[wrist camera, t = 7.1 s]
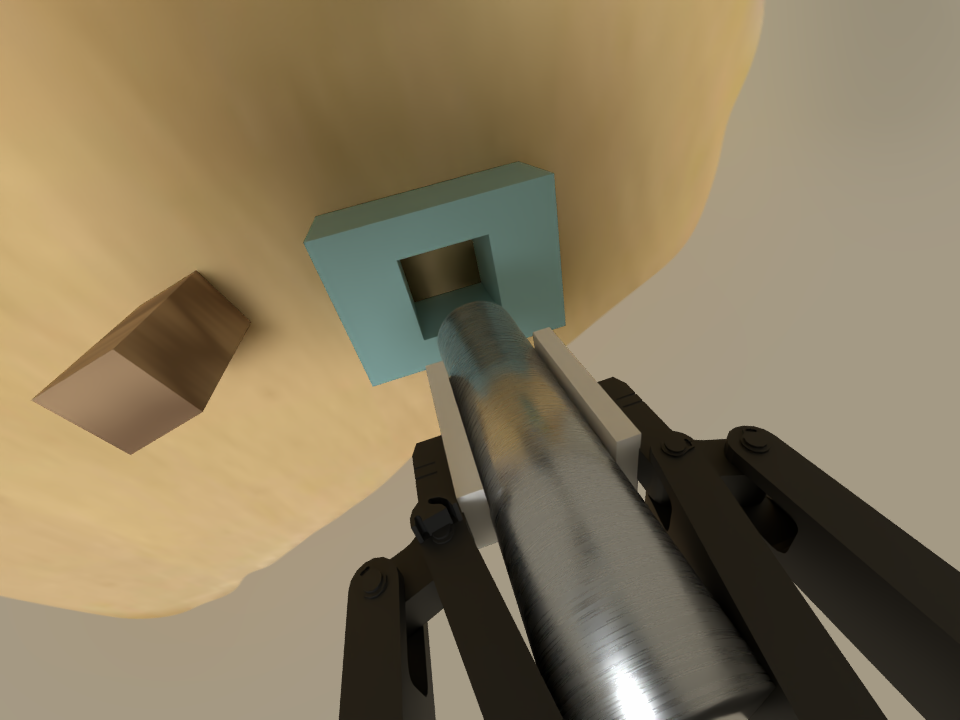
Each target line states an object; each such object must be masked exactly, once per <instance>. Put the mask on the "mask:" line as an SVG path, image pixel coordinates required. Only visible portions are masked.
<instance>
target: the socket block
mask: <svg viewBox="0 0 960 720" xmlns="http://www.w3.org/2000/svg"><path fill="white" fill-rule="evenodd" d="M470 239H472V241H473V246H474V251H475V255H476V260H477V265H478V269H479V274H480V279H481V283H478V284H474V285H471V286H468V287H464V288H461V289H458V290H454V291H451V292H448V293H444V294H441V295H438V296H434V297H431V298H428V299H424V300H421V301H418V302H414V300H413V297H412V294H411V291H410V288H409V285H408V282H407V280H406V277H405V274H404V271H403V268H402V265H401V262H400V260H401V259H404V258H408V257H411V256H415V255H418V254H422V253H425V252H429V251H432V250H436V249H439V248H442V247H446V246H449V245H453V244H456V243H460V242H463V241H467V240H470ZM303 243H304V245H305V247H306V249H307V251H308V253H309V256H310V258H311V260H312V262H313V264H314V266H315V268H316V270H317V272H318V274H319V276H320V278H321V280H322V282H323V284H324V287H325V289H326V291H327V293H328V295H329V297H330V299H331V301H332V303H333V305H334V307H335V309H336V311H337V313H338V315H339V318H340V320H341V322H342V324H343V326H344V328H345V330H346V332H347V334H348V336H349V338H350V340H351V342H352V344H353V346H354V349H355V351H356V353H357V355H358V357H359V359H360V361H361V363H362V365H363V367H364V369H365V371H366V373H367V375H368V377H369V380H370V382H371V384H372V386H376V385H379V384H383V383H386V382H389V381H392V380H395V379H398V378H402V377H405V376H408V375H411V374H414V373H417V372H420V371H424V370H426V367H425V366H427V365H431V364H434V363H437V362H440V361H442V359H441V356H440V352H439V349H438V343H437V338H438V332H439V329H440V326H441V324H442V323H443V321H444V320H445V318H446V317H447V316H448V315H449V314H450V313H451V312H452V311H453V310H455V309H456V308H458V307H459V306H461V305H464V304H466V303H469V302H474V301H488V302H492V303H495V304H498V305H500V306H501V307H503V308H504V309H505V310H506V311H507V312H508V313H509V314H510V316H511V317H512V318H513V320H514V321H515V323H516V324H517V325H518V327H519V328H520V330H521V331H522V332H523V334H524V335H525V337H526V338H528V337H531V336H533V332H535V331H538V330H541V329H544V328H548V327H550V328H551V329H552V330H553V329H556V328H559V327H562V326H566V324H565V311H564V297H563V284H562V271H561V258H560V245H559V232H558V219H557V206H556V193H555V180H554V173H552V172H549V171H546V170H543V169H540V168H537V167H534V166H531V165H528V164H525V163H522V162H519V161H518V162H514V163H511V164H507V165H503V166H500V167H496V168H492V169H489V170H485V171H481V172H478V173H474V174H470V175H467V176H463V177H459V178H456V179H452V180H448V181H444V182H441V183H437V184H433V185H430V186H426V187H422V188H419V189H415V190H411V191H408V192H404V193H400V194H397V195H393V196H389V197H386V198H382V199H378V200H375V201H371V202H367V203H364V204H360V205H356V206H352V207H349V208H345V209H341V210H338V211H334V212H330V213H327V214H323V215H319V216H316V217H315V219H314V221H313V223H312V225H311V227H310V229H309V232H308V234H307V236H306V238H305V240H304V242H303Z"/></svg>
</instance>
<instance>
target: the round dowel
mask: <svg viewBox="0 0 960 720" xmlns="http://www.w3.org/2000/svg"><path fill="white" fill-rule="evenodd" d="M437 343H438V349H439V352H440V356H441V359H442V361H443V362H444V365H445V369H446V372H447V375H448V378H449V381H450V384H451V387H452V391H453V394H454V397H455V400H456V403H457V407H458V410H459V413H460V416H461V419H462V422H463V426H464V429H465V432H466V435H467V438H468V442H469V445H470V448H471V451H472V454H473V458H474V461H475V464H476V467H477V470H478V473H479V477H480V480H481V483H482V486H483V489H484V493H485V496H486V499H487V502H488V505H489V509H490V517H491V520H492V524H493V527H494V530H495V533H496V537H497V540H498V543H499V546H500V549H501V553H502V556H503V559H504V562H505V565H506V569H507V572H508V575H509V578H510V582H511V585H512V588H513V591H514V595H515V598H516V601H517V604H518V608H519V611H520V614H521V617H522V621H523V624H524V627H525V630H526V633H527V637H528V640H529V643H530V646H531V649H532V653H533V656H534V659H535V663H536V666H537V668H538V670H539V672H540V674H541V676H542V678H543V680H544V682H545V684H546V686H547V688H548V690H549V692H550V694H551V696H552V698H553V700H554V702H555V704H556V706H557V708H558V710H559V712H560V714H561V716H562V718H563V720H748V719H749V718H750V717H751V716H752V715H753V713H754V712H755V711H756V710H757V709H758V708H759V706H760V705H761V704H762V703H763V702H764V701H765V699H766V698H767V697H768V696H769V695H770V693H771V692H772V691H773V690H774V689H775V688H776V686H775V685H774V683H773V682H772V680H771V679H770V677H769V675H768V674H767V672H766V671H765V669H764V668H763V666H762V665H761V664H760V662H759V661H758V659H757V658H756V656H755V655H754V653H753V652H752V650H751V649H750V647H749V646H748V645H747V643H746V642H745V640H744V639H743V637H742V636H741V634H740V633H739V632H738V630H737V629H736V628H735V626H734V625H733V623H732V622H731V621H730V619H729V618H728V616H727V615H726V614H725V612H724V611H723V610H722V608H721V607H720V605H719V604H718V603H717V601H716V600H715V598H714V597H713V596H712V594H711V593H710V592H709V590H708V589H707V587H706V586H705V585H704V583H703V582H702V580H701V579H700V578H699V576H698V575H697V574H696V572H695V571H694V569H693V568H692V567H691V565H690V564H689V562H688V561H687V560H686V558H685V557H684V555H683V554H682V553H681V551H680V550H679V549H678V547H677V546H676V544H675V543H674V542H673V540H672V539H671V537H670V536H669V535H668V533H667V532H666V531H665V529H664V528H663V526H662V525H661V524H660V522H659V521H658V519H657V518H656V517H655V515H654V514H653V513H652V511H651V510H650V508H649V507H648V506H647V504H646V503H645V501H644V500H643V499H642V497H641V496H640V495H639V493H638V492H637V490H636V489H635V488H634V486H633V485H632V483H631V482H630V481H629V479H628V478H627V476H626V475H625V474H624V472H623V471H622V470H621V468H620V467H619V465H618V464H617V463H616V461H615V460H614V458H613V457H612V456H611V454H610V453H609V452H608V450H607V449H606V447H605V446H604V445H603V443H602V442H601V440H600V439H599V438H598V436H597V435H596V434H595V432H594V431H593V429H592V428H591V427H590V425H589V424H588V422H587V421H586V420H585V418H584V417H583V416H582V414H581V413H580V411H579V410H578V409H577V407H576V406H575V404H574V403H573V402H572V400H571V399H570V397H569V396H568V395H567V393H566V392H565V391H564V389H563V388H562V386H561V385H560V384H559V382H558V381H557V379H556V378H555V377H554V375H553V374H552V373H551V371H550V370H549V368H548V367H547V366H546V364H545V363H544V361H543V360H542V359H541V357H540V356H539V355H538V353H537V352H536V350H535V349H534V348H533V346H532V345H531V343H530V342H529V341H528V339H527V338H526V337H525V335H524V334H523V332H522V331H521V330H520V328H519V327H518V325H517V324H516V323H515V321H514V320H513V318H512V317H511V316H510V314H509V313H508V312H507V311H506V310H505V309H504V308H503V307H501V306H500V305H498V304H495V303H492V302H488V301H474V302H469V303H466V304H464V305H461V306H459V307H458V308H456V309H455V310H453V311H452V312H451V313H450V314H449V315H448V316H447V317H446V318H445V320H444V321H443V323H442V324H441V326H440V329H439V332H438V338H437Z"/></svg>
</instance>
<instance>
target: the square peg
mask: <svg viewBox="0 0 960 720" xmlns="http://www.w3.org/2000/svg"><path fill="white" fill-rule="evenodd" d="M250 323H251V322H250V321H249V320H248V319H247V318H246V317H245V316H244V315H243V314H242V313H241V312H240V311H239V310H238V309H236V308H235V307H234V306H233V305H232V304H231V303H230V302H229V301H228V300H227V299H226V298H225V297H224V296H223V295H222V294H221V293H219V292H218V291H217V290H216V289H215V288H214V287H213V286H212V285H211V284H210V283H209V282H208V281H207V280H206V279H205V278H203V277H202V276H201V275H200V274H199V273H198V272H197V271H195V272H193V273H191V274H190V275H188V276H187V277H185V278H183V279H182V280H180V281H179V282H177V283H176V284H174V285H172V286H171V287H169V288H168V289H166V290H164V291H163V292H161V293H160V294H158V295H156V296H155V297H153V298H152V299H150V300H148V301H147V302H145V303H144V304H142V305H140V306H139V307H138V308H137V309H136V310H135V311H133V312H132V313H131V314H130V315H129V316H128V317H126V318H125V319H124V320H123V321H122V322H121V323H120V324H118V325H117V326H116V327H115V328H114V329H113V330H111V331H110V332H109V333H108V334H107V335H106V336H105V337H103V338H102V339H101V340H100V341H99V342H98V343H96V344H95V345H94V346H93V347H92V348H91V349H90V350H88V351H87V352H86V353H85V354H84V355H83V356H81V357H80V358H79V359H78V360H77V361H76V362H74V363H73V364H72V365H71V366H70V367H69V368H68V369H66V370H65V371H64V372H63V373H62V374H61V375H59V376H58V377H57V378H56V379H55V380H54V381H53V382H51V383H50V384H49V385H48V386H47V387H46V388H44V389H43V390H42V391H41V392H40V393H39V394H38V395H36V396H35V397H34V398H33V399H32V401H33V402H35V403H37V404H39V405H41V406H43V407H44V408H46V409H48V410H50V411H52V412H53V413H55V414H57V415H59V416H61V417H63V418H64V419H66V420H68V421H70V422H72V423H74V424H75V425H77V426H79V427H81V428H83V429H84V430H86V431H88V432H90V433H92V434H94V435H95V436H97V437H99V438H101V439H103V440H104V441H106V442H108V443H110V444H112V445H114V446H115V447H117V448H119V449H121V450H123V451H125V452H126V453H128V454H130V455H131V454H133V453H135V452H136V451H138V450H140V449H141V448H143V447H145V446H146V445H148V444H150V443H151V442H153V441H155V440H156V439H158V438H160V437H161V436H163V435H165V434H166V433H168V432H170V431H171V430H173V429H175V428H176V427H178V426H180V425H181V424H183V423H185V422H186V421H188V420H190V419H192V418H193V417H195V416H197V415H198V414H200V413H202V412H203V410H204V408H205V407H206V405H207V403H208V401H209V399H210V397H211V395H212V394H213V392H214V390H215V388H216V386H217V384H218V382H219V381H220V379H221V377H222V375H223V373H224V371H225V369H226V368H227V366H228V364H229V362H230V360H231V358H232V356H233V355H234V353H235V351H236V349H237V347H238V345H239V343H240V342H241V340H242V338H243V336H244V334H245V332H246V330H247V329H248V327H249V325H250Z"/></svg>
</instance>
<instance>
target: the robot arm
mask: <svg viewBox="0 0 960 720" xmlns="http://www.w3.org/2000/svg"><path fill="white" fill-rule="evenodd" d="M533 339H534V346H535V350H536V352H537V353H538V355H539V356H540V357H541V359H542V360H543V361H544V363H545V364H546V366H547V367H548V368H549V370H550V371H551V373H552V374H553V375H554V377H555V378H556V379H557V381H558V382H559V384H560V385H561V386H562V388H563V389H564V391H565V392H566V393H567V395H568V396H569V397H570V399H571V400H572V402H573V403H574V404H575V406H576V407H577V409H578V410H579V411H580V413H581V414H582V416H583V417H584V418H585V420H586V421H587V422H588V424H589V425H590V427H591V428H592V429H593V431H594V432H595V434H596V435H597V436H598V438H599V439H600V440H601V442H602V443H603V445H604V446H605V447H606V449H607V450H608V452H609V453H610V454H611V456H612V457H613V458H614V460H615V461H616V463H617V464H618V465H619V467H620V468H621V470H622V471H623V472H624V474H625V475H626V476H627V478H628V479H629V481H630V482H631V483H632V485H633V486H634V488H635V489H636V490H637V487H638V481H639V482H640V483H641V484H642V486H643V487H644V489H645V490H646V496H645V503H646V504H647V506H648V507H649V508H650V510H651V511H652V513H653V514H654V515H655V517H656V518H657V519H658V521H659V522H660V524H661V525H662V526H663V528H664V529H665V531H666V532H667V533H668V535H669V536H670V537H671V539H672V540H673V542H674V543H675V544H676V546H677V547H678V549H679V550H680V551H681V553H682V554H683V555H684V557H685V558H686V560H687V561H688V562H689V564H690V565H691V567H692V568H693V569H694V571H695V572H696V574H697V575H698V576H699V578H700V579H701V580H702V582H703V583H704V585H705V586H706V587H707V589H708V590H709V592H710V593H711V594H712V596H713V597H714V598H715V600H716V601H717V603H718V604H719V605H720V607H721V608H722V610H723V611H724V612H725V614H726V615H727V616H728V618H729V619H730V621H731V622H732V623H733V625H734V626H735V628H736V629H737V630H738V632H739V633H740V634H741V636H742V637H743V639H744V640H745V642H746V643H747V645H748V646H749V647H750V649H751V650H752V652H753V653H754V655H755V656H756V658H757V659H758V661H759V662H760V664H761V665H762V666H763V668H764V669H765V671H766V672H767V674H768V675H769V677H770V679H771V680H772V682H773V683H774V685H775V686H776V688H775V689H774V690H773V691H772V692H771V693H770V695H769V696H768V697H767V698H766V699H765V701H764V702H763V703H762V704H761V705H760V706H759V708H758V709H757V710H756V711H755V712H754V713H753V715H752V716H751V717H750V718H749V719H748V720H887V718H886V717H885V715H884V714H883V712H882V711H881V709H880V708H879V706H878V705H877V703H876V702H875V700H874V699H873V698H872V696H871V695H870V693H869V692H868V690H867V689H866V687H865V686H864V684H863V683H862V682H861V680H860V679H859V677H858V676H857V674H856V673H855V672H854V670H853V668H852V667H851V666H850V664H849V663H848V661H847V660H846V658H845V657H844V655H843V654H842V653H841V651H840V650H839V648H838V647H837V645H836V644H835V643H834V641H833V640H832V638H831V637H830V635H829V634H828V632H827V631H826V629H825V628H824V626H823V625H822V624H821V622H820V621H819V619H818V618H817V616H816V615H815V613H814V612H813V611H812V609H811V608H810V606H809V605H808V603H807V602H806V600H805V599H804V597H803V596H802V595H801V593H800V592H799V590H798V589H797V587H796V586H795V584H796V585H797V586H798V587H799V588H800V589H801V591H803V593H804V594H805V595H806V596H807V597H808V598H809V599H810V600H811V601H812V602H813V603H814V604H815V605H816V606H817V607H818V608H819V609H820V610H821V611H822V612H823V613H824V614H825V615H826V616H827V617H828V618H829V620H830V621H831V622H832V623H833V624H834V625H835V626H836V627H837V628H838V629H839V630H840V631H841V632H842V633H843V634H844V635H845V636H846V637H847V638H848V639H849V640H850V641H851V642H852V643H853V644H854V646H855V647H856V648H857V649H859V651H860V652H861V653H862V654H863V655H864V656H865V657H866V658H867V659H868V660H869V661H870V662H871V663H872V664H873V665H874V666H875V667H876V668H877V669H878V670H879V671H880V672H881V674H883V676H885V678H886V679H887V680H888V681H889V682H890V683H891V684H892V685H893V686H894V687H895V688H896V689H897V690H898V691H899V692H900V693H901V694H902V695H903V696H904V697H905V698H906V700H907V701H908V702H909V703H910V704H911V705H912V706H913V707H914V708H915V709H916V710H917V711H918V712H919V713H920V714H921V715H922V716H923V717H924V718H925V719H926V720H960V572H959V571H958V570H956V569H955V568H954V567H952V566H951V565H949V564H948V563H947V562H945V561H944V560H943V559H941V558H940V557H939V556H937V555H936V554H935V553H933V552H932V551H930V550H929V549H928V548H926V547H925V546H924V545H922V544H921V543H920V542H918V541H917V540H916V539H914V538H913V537H912V536H910V535H909V534H907V533H906V532H905V531H903V530H902V529H901V528H899V527H898V526H897V525H895V524H894V523H892V522H891V521H890V520H888V519H887V518H886V517H885V516H883V515H882V514H880V513H879V512H878V511H876V510H875V509H874V508H872V507H871V506H870V505H868V504H867V503H866V502H864V501H863V500H862V499H860V498H859V497H857V496H856V495H855V494H853V493H852V492H851V491H849V490H848V489H847V488H845V487H844V486H843V485H841V484H840V483H839V482H837V481H836V480H835V479H833V478H832V477H830V476H829V475H828V474H826V473H825V472H824V471H822V470H821V469H820V468H818V467H817V466H816V465H814V464H813V463H811V462H810V461H809V460H807V459H806V458H805V457H803V456H802V455H801V454H799V453H798V452H797V451H795V450H794V449H792V448H791V447H790V446H788V445H787V444H786V443H784V442H783V441H782V440H780V439H779V438H778V437H776V436H775V435H773V434H772V433H770V432H768V431H766V430H764V429H761V428H758V427H754V426H740V427H736V428H734V429H732V430H731V431H729V433H728V436H727V439H719V440H693V439H692V438H691V437H689V436H687V435H686V434H683V433H680V432H675V431H672V430H671V429H670V428H669V427H668V426H667V425H666V424H665V423H664V422H663V421H662V420H661V419H660V418H659V417H658V416H657V415H656V414H655V413H654V412H653V411H652V410H651V409H650V408H649V407H648V406H647V404H646V403H645V402H643V401H642V399H641V398H640V397H639V396H638V395H637V394H635V392H634V391H633V390H632V389H631V388H630V387H629V386H628V385H627V384H626V383H624V382H622V381H620V380H618V379H616V378H614V377H611V378H608V379H605V380H602V381H599V382H596V380H595V379H594V378H593V377H592V376H591V375H590V373H589V372H588V371H587V370H586V369H585V368H584V367H583V365H582V364H581V363H580V362H579V361H578V360H577V358H576V357H575V356H574V355H573V354H572V353H571V351H570V350H569V349H568V348H567V347H566V346H565V344H564V343H563V342H562V341H561V340H560V339H559V338H558V336H557V335H556V334H555V333H554V332H553V331H552V329H551V328H550V327H548V328H544V329H541V330H538V331H535V332H533ZM425 367H426V371H427V376H428V380H429V384H430V388H431V393H432V397H433V401H434V405H435V410H436V414H437V418H438V422H439V427H440V431H441V436H438V437H435V438H432V439H429V440H426V441H423V442H420V443H417V444H416V446H415V449H414V452H413V455H412V458H413V466H414V473H415V479H416V488H417V495H418V503H417V505H416V506H415V508H414V509H413V510H412V514H411V517H410V524H411V529H412V530H413V532H414V534H415V536H416V537H415V538H414V540H413V541H412V542H411V543H410V545H408V546H407V547H406V548H405V549H404V550H402V551H401V552H400V553H398V554H397V555H395V556H394V557H393V558H391V559H387V558H384V557H380V558H373V559H372V560H370V561H368V562H366V563H364V564H363V565H362V566H361V567H360V568H359V569H358V570H357V571H356V573H355V575H354V576H353V578H352V580H351V583H350V587H349V592H348V604H347V617H346V631H345V645H344V659H343V671H342V684H341V698H340V712H339V720H436V719H435V706H434V694H433V683H432V671H431V659H430V647H429V636H428V623H427V622H428V621H429V620H430V619H431V618H432V617H433V616H435V615H436V614H437V613H438V612H440V611H441V610H442V609H443V608H444V610H445V613H446V616H447V619H448V622H449V625H450V627H451V630H452V632H453V636H454V638H455V641H456V644H457V646H458V649H459V652H460V655H461V657H462V660H463V663H464V666H465V668H466V671H467V674H468V676H469V679H470V682H471V685H472V688H473V690H474V693H475V696H476V699H477V701H478V704H479V707H480V710H481V712H482V715H483V718H484V720H563V718H562V716H561V714H560V712H559V710H558V708H557V706H556V704H555V702H554V700H553V698H552V696H551V694H550V692H549V690H548V688H547V686H546V684H545V682H544V680H543V678H542V676H541V674H540V672H539V670H538V668H537V666H536V664H535V662H534V660H533V658H532V656H531V654H530V652H529V650H528V648H527V646H526V644H525V642H524V640H523V638H522V636H521V634H520V632H519V630H518V628H517V626H516V624H515V622H514V620H513V618H512V616H511V614H510V612H509V610H508V608H507V606H506V604H505V602H504V600H503V598H502V596H501V594H500V592H499V590H498V588H497V586H496V584H495V582H494V580H493V578H492V576H491V574H490V572H489V570H488V568H487V566H486V564H485V562H484V560H483V558H482V556H481V554H480V552H479V550H478V549H480V548H483V547H486V546H488V545H491V544H493V543H496V542H498V540H497V537H496V533H495V530H494V527H493V524H492V520H491V517H490V509H489V505H488V502H487V499H486V496H485V493H484V489H483V486H482V483H481V480H480V477H479V473H478V470H477V467H476V464H475V461H474V458H473V454H472V451H471V448H470V445H469V442H468V438H467V435H466V432H465V429H464V426H463V422H462V419H461V416H460V413H459V410H458V407H457V403H456V400H455V397H454V394H453V391H452V387H451V384H450V381H449V378H448V375H447V372H446V369H445V365H444V362H443V361H440V362H437V363H434V364H431V365H427V366H425ZM793 582H794V583H795V584H794V583H793Z"/></svg>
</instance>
